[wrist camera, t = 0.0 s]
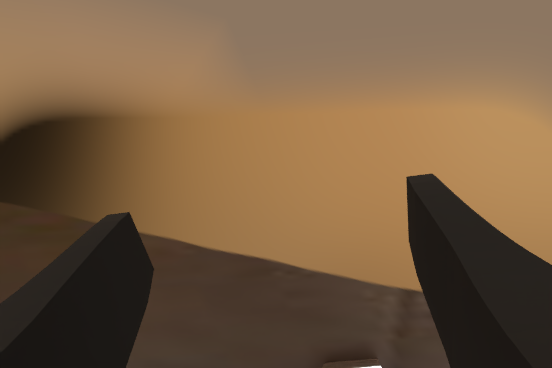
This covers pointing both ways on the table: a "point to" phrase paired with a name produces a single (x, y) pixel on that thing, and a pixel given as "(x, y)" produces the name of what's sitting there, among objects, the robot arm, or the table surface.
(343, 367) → the block
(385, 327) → the table surface
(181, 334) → the table surface
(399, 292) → the table surface
